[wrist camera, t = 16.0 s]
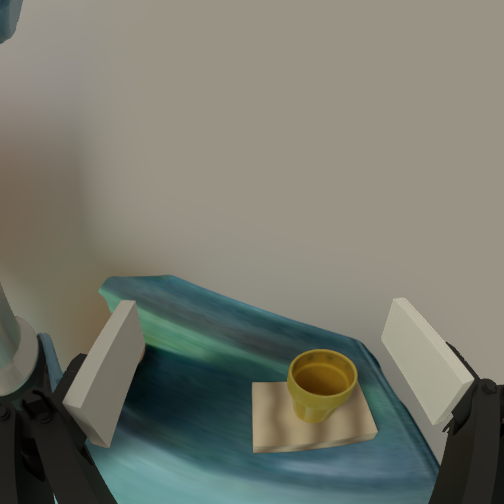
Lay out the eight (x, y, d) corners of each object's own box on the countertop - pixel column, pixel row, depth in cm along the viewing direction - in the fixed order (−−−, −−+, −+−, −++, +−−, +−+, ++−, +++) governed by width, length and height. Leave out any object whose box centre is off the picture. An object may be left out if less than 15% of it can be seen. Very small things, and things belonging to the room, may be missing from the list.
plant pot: (335, 439, 33) (352, 404, 30) (273, 422, 37) (278, 385, 34) (347, 394, 42) (362, 355, 38) (294, 381, 46) (300, 342, 42)
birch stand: (253, 452, 34) (253, 446, 33) (251, 390, 47) (252, 382, 46) (373, 439, 34) (377, 431, 33) (352, 384, 47) (355, 375, 46)
